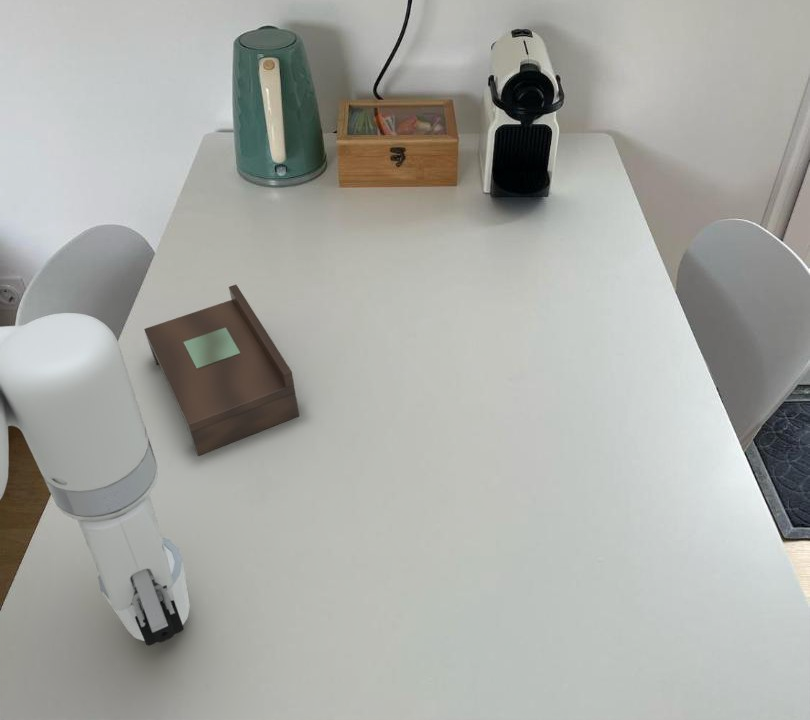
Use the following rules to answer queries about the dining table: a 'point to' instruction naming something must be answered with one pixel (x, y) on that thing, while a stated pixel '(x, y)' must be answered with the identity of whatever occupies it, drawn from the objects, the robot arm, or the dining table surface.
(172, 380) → the shelf
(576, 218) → the dining table surface
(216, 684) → the dining table surface
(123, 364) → the robot arm
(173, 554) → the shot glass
